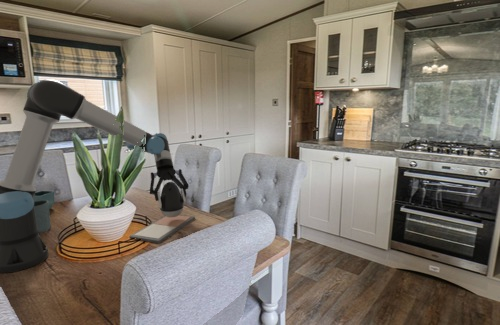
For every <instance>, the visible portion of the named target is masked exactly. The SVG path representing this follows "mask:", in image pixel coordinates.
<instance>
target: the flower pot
mask: <svg viewBox="0 0 500 325" xmlns="http://www.w3.org/2000/svg"><path fill="white" fill-rule="evenodd" d="M33 200H34V201H37V200H48V202H49V210H50V209H52V207H54V206H53V205H54V203H55V191H54V190H52V191H51V190H40V191H36V192H35V195H34V198H33Z"/></svg>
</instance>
